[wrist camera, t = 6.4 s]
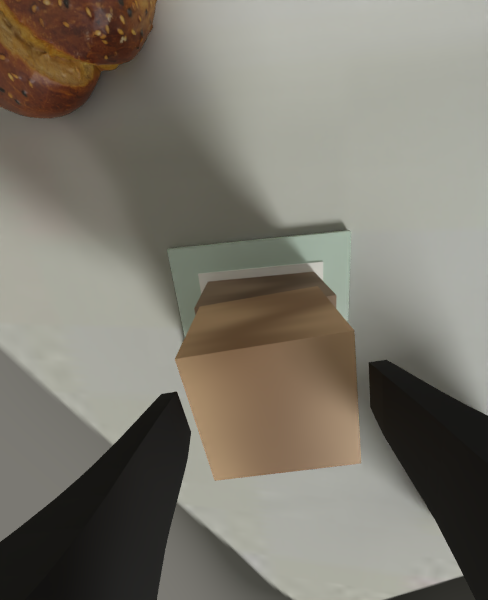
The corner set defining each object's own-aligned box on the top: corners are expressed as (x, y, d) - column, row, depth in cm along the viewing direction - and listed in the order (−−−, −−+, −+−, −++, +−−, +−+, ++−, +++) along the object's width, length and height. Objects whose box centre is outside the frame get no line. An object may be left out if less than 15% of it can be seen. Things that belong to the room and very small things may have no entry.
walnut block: (314, 271, 15) (336, 295, 11) (315, 362, 17) (334, 409, 13) (207, 281, 15) (194, 308, 11) (221, 370, 17) (214, 417, 13)
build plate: (348, 230, 14) (352, 231, 14) (343, 380, 18) (346, 386, 17) (169, 248, 15) (166, 250, 14) (198, 391, 18) (196, 397, 18)
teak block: (317, 286, 11) (354, 330, 7) (327, 384, 12) (361, 463, 9) (199, 306, 11) (174, 358, 7) (224, 399, 13) (214, 480, 9)
